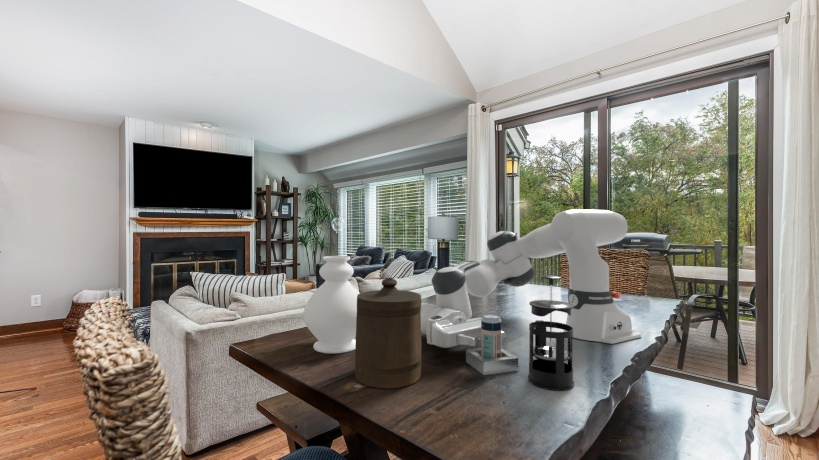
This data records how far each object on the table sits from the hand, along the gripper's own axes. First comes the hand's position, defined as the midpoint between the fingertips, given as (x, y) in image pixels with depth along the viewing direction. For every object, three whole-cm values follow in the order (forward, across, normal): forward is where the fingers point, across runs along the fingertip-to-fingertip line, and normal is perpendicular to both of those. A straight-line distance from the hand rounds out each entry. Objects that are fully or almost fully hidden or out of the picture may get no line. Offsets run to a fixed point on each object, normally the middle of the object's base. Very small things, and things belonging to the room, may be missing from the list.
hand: (490, 339), depth 89 cm
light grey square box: (0, 0, -6) cm, 7 cm away
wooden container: (-9, +23, -7) cm, 26 cm away
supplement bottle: (0, 0, -7) cm, 7 cm away
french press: (+13, -4, -7) cm, 15 cm away
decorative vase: (-35, +24, -7) cm, 43 cm away
